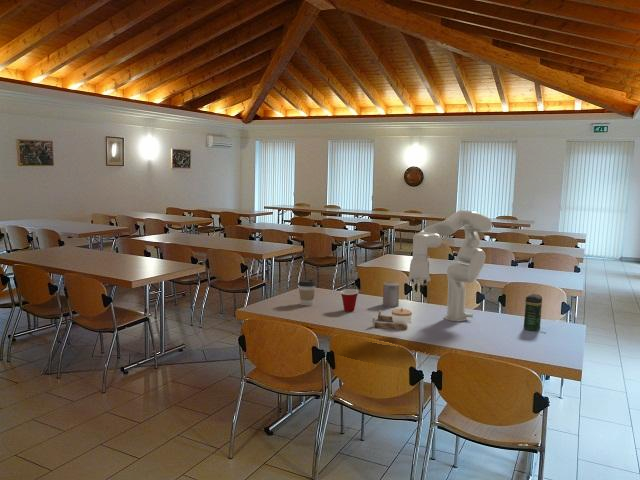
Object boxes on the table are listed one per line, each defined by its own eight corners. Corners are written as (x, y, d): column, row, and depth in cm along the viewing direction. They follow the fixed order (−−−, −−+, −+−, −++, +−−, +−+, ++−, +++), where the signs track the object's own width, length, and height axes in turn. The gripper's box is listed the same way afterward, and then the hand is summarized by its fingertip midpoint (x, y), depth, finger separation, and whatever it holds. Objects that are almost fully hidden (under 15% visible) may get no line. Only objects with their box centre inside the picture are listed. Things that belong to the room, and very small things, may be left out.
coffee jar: (537, 332, 289) (540, 297, 287) (522, 329, 294) (524, 295, 291) (541, 328, 297) (544, 294, 295) (526, 325, 302) (528, 292, 299)
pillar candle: (387, 302, 350) (388, 279, 348) (401, 305, 344) (402, 281, 342) (379, 305, 342) (380, 281, 340) (393, 308, 336) (394, 283, 334)
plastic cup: (336, 310, 328) (336, 290, 326) (347, 307, 336) (348, 288, 334) (350, 314, 320) (350, 293, 319) (361, 310, 328) (362, 290, 327)
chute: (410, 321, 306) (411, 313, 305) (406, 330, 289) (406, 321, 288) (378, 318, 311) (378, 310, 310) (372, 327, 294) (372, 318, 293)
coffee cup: (316, 307, 336) (316, 282, 334) (297, 306, 336) (297, 282, 334) (316, 302, 347) (316, 279, 345) (298, 302, 347) (298, 278, 346)
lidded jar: (415, 326, 297) (416, 309, 296) (400, 329, 291) (401, 311, 290) (401, 321, 306) (402, 305, 305) (387, 324, 300) (387, 307, 299)
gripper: (435, 257, 293) (434, 291, 295) (405, 255, 297) (404, 289, 299) (434, 259, 286) (433, 294, 288) (403, 257, 290) (402, 292, 292)
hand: (418, 291), depth 294 cm, fingers closed
